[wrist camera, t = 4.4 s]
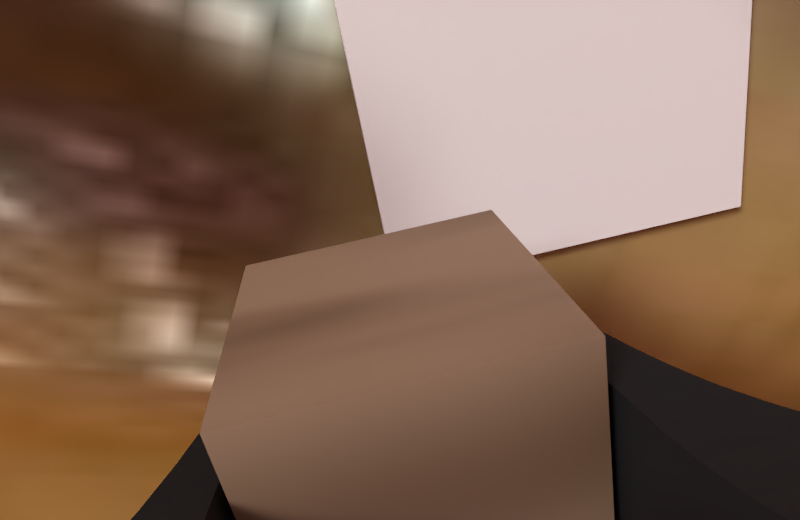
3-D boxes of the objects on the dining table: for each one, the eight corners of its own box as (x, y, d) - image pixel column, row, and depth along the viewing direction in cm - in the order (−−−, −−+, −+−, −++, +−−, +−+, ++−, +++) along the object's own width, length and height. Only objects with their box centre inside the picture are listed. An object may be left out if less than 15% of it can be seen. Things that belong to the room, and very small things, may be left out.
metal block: (517, 407, 14) (619, 603, 9) (309, 457, 13) (306, 685, 9) (491, 209, 12) (605, 336, 7) (245, 266, 11) (198, 434, 7)
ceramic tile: (729, 201, 20) (740, 206, 20) (393, 279, 20) (396, 287, 19) (748, -224, 15) (765, -232, 15) (303, -138, 15) (303, -144, 14)
